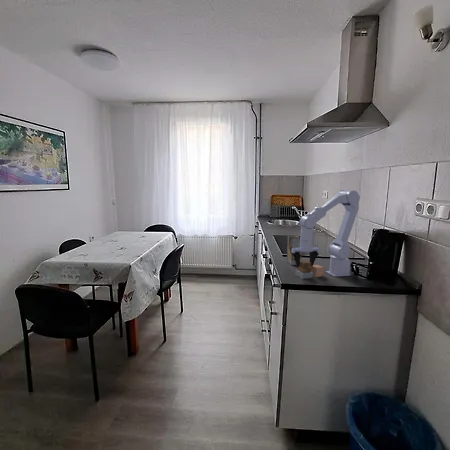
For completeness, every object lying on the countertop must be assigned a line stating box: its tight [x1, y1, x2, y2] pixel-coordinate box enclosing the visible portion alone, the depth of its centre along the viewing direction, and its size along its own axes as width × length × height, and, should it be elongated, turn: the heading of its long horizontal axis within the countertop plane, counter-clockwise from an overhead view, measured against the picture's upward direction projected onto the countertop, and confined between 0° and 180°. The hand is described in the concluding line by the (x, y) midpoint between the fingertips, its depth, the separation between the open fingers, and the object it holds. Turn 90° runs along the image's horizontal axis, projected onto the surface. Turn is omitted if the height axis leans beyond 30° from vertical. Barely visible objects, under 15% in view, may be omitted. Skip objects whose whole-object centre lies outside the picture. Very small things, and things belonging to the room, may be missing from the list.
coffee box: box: [286, 235, 303, 266], centre depth 160 cm, size 9×6×16 cm
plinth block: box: [295, 269, 314, 279], centre depth 137 cm, size 6×6×3 cm
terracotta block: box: [311, 264, 324, 278], centre depth 139 cm, size 4×4×5 cm
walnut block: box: [297, 259, 311, 273], centre depth 137 cm, size 4×4×5 cm
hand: (304, 265), depth 137 cm, fingers open, 7 cm apart
